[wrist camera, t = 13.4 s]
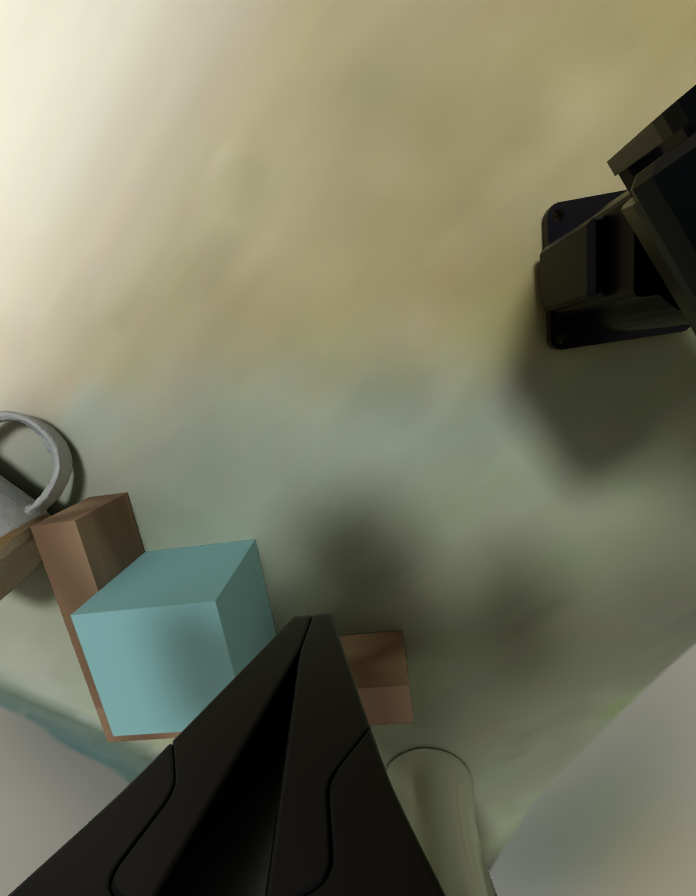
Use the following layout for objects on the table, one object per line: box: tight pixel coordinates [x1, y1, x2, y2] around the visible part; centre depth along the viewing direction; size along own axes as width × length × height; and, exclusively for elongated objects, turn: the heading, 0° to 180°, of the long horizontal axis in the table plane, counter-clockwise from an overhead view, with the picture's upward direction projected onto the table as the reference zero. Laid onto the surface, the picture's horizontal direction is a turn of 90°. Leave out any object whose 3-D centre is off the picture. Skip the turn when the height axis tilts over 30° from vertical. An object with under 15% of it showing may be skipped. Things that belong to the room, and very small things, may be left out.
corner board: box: [30, 493, 414, 742], centre depth 21 cm, size 17×13×4 cm
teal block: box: [70, 539, 276, 736], centre depth 21 cm, size 7×7×6 cm
